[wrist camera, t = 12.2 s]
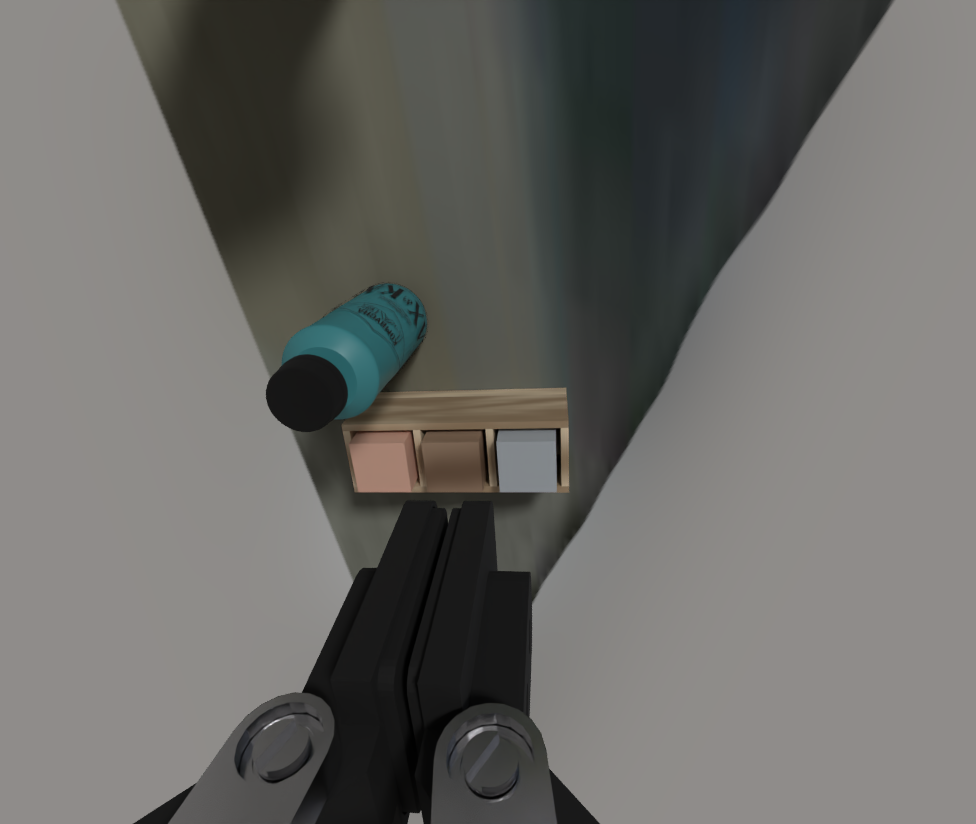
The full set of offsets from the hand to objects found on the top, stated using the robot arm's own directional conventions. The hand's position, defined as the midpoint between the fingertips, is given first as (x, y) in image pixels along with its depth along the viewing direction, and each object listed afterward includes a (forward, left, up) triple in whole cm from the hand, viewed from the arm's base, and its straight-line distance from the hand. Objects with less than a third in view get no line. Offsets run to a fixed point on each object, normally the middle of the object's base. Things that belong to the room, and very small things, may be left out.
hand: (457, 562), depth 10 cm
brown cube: (+14, -6, -33) cm, 37 cm away
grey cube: (+14, 0, -33) cm, 36 cm away
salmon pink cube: (+14, -12, -33) cm, 38 cm away
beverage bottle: (+4, -12, -37) cm, 39 cm away
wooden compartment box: (+14, -6, -37) cm, 40 cm away
